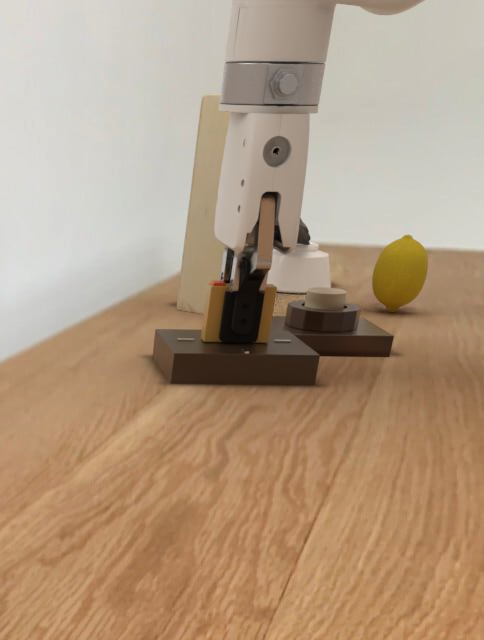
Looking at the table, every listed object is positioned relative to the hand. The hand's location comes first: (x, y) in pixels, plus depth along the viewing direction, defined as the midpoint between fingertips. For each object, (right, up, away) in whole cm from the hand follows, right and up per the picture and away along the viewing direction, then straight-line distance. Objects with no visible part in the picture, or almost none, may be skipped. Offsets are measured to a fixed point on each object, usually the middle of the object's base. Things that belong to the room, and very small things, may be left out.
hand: (234, 337), depth 95 cm
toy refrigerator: (+7, +13, +29) cm, 33 cm away
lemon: (+26, +13, +29) cm, 41 cm away
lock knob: (0, 0, 0) cm, 0 cm away
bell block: (+11, +3, +12) cm, 17 cm away
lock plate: (0, -3, +2) cm, 3 cm away
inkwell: (+17, +19, +39) cm, 47 cm away
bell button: (+11, +6, +10) cm, 16 cm away
